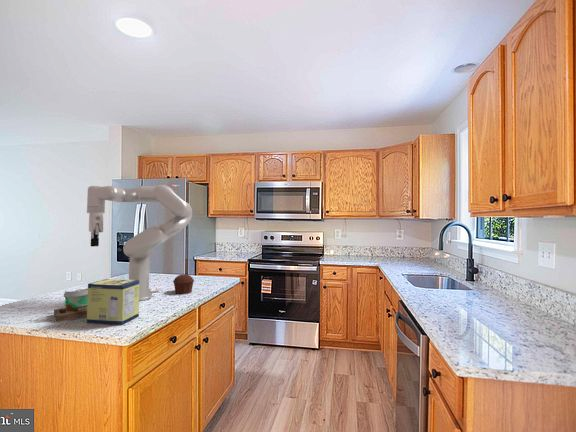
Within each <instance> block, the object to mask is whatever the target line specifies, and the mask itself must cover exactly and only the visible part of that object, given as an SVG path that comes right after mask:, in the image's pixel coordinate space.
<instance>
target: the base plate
mask: <svg viewBox="0 0 576 432" xmlns="http://www.w3.org/2000/svg"><path fill="white" fill-rule="evenodd" d="M53 318H54V321H55V323H58V322H59V323H60V322H65V321H71V320H76V319H83V318H87V310H83V311H77V312H71V313H66V307H60V308H54V309H53Z"/></svg>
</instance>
